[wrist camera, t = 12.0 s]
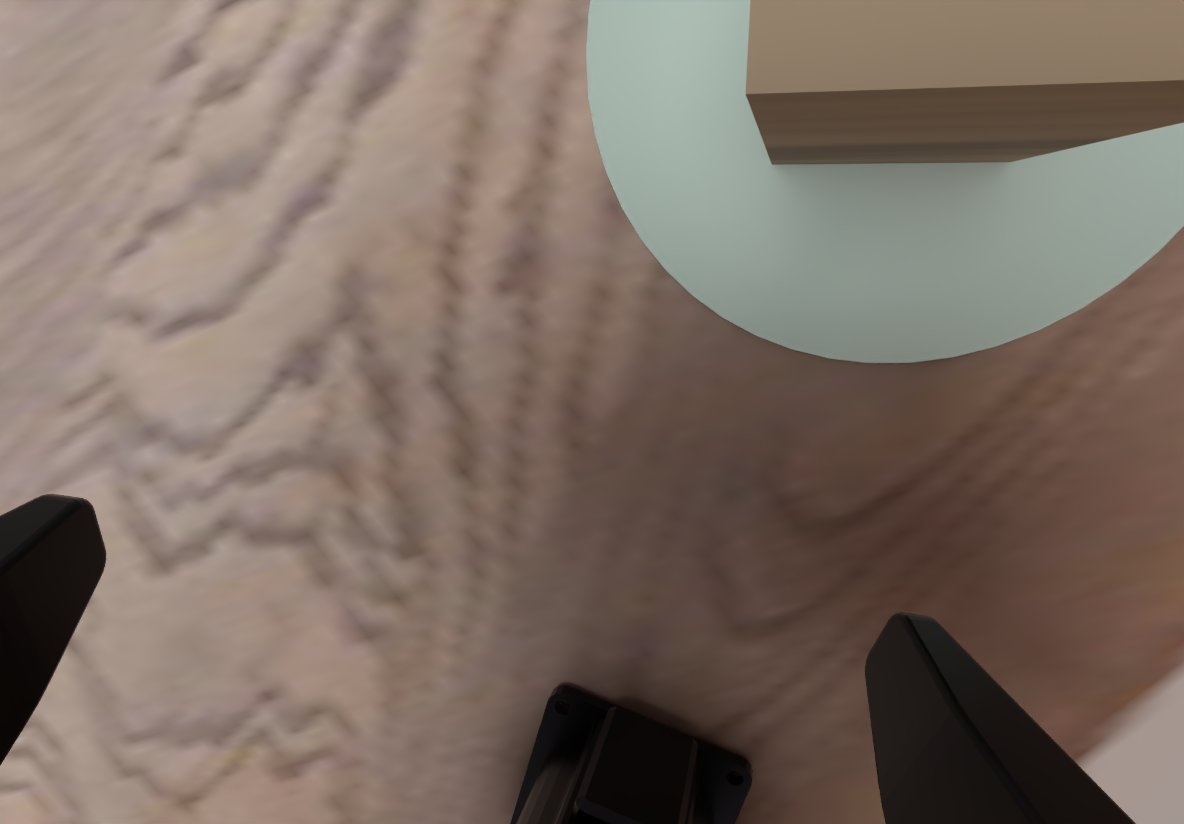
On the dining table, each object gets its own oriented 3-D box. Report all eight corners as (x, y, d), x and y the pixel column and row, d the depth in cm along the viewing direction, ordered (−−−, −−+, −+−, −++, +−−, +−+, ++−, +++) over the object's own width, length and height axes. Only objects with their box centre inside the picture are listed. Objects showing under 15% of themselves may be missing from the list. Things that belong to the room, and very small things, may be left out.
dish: (1072, 429, 18) (1090, 443, 17) (539, 263, 21) (525, 266, 19) (1419, -258, 14) (1474, -300, 13) (695, -373, 16) (688, -418, 15)
